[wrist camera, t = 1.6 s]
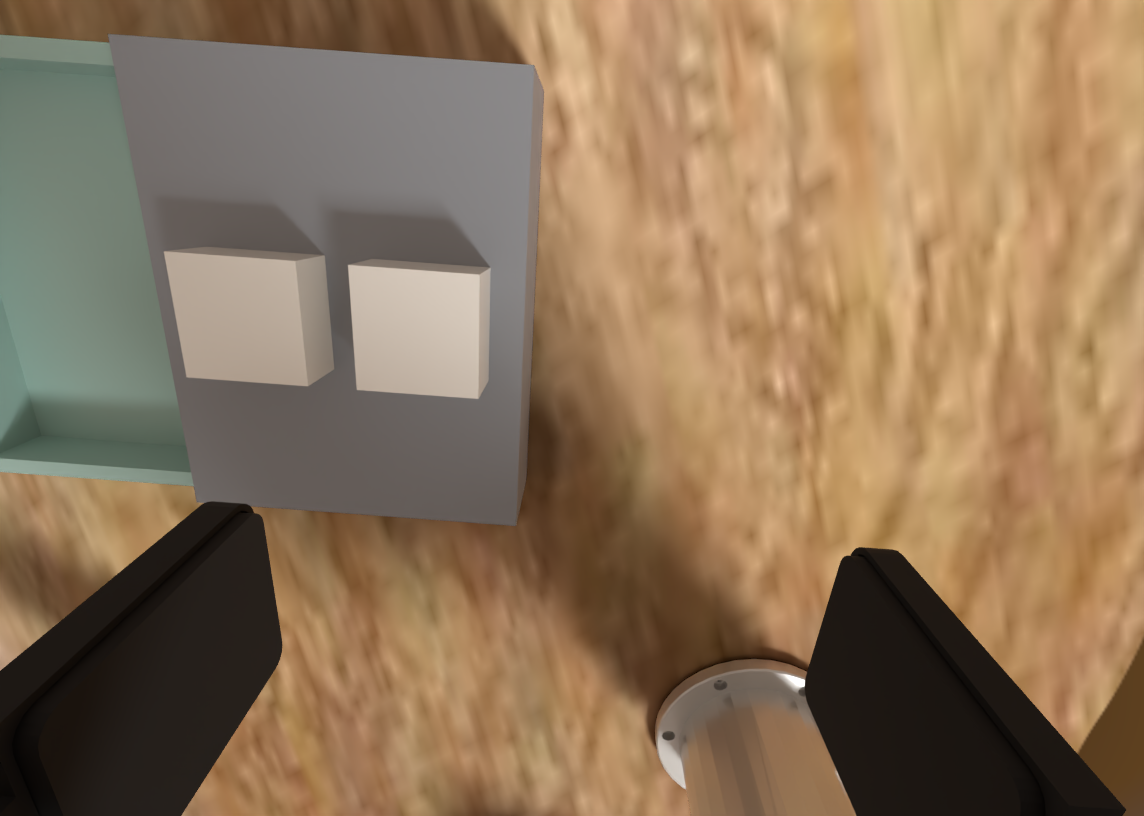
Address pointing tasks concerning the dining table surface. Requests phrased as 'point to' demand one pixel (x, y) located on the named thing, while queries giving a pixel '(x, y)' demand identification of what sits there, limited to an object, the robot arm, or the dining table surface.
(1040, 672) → the dining table surface
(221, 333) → the tile
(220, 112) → the slate block
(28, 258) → the box
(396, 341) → the tile
